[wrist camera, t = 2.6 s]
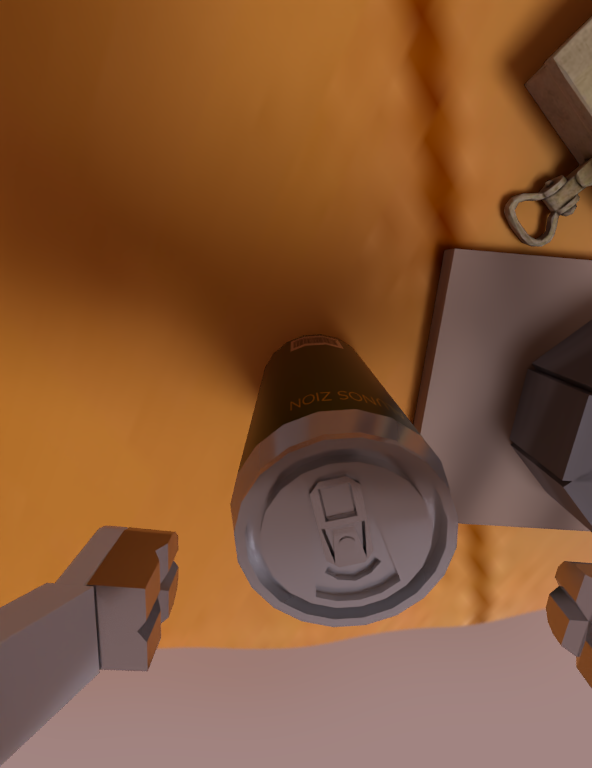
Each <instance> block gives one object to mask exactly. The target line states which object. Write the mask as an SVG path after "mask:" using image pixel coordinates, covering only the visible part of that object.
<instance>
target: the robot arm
mask: <svg viewBox="0 0 592 768" xmlns="http://www.w3.org/2000/svg"><path fill="white" fill-rule="evenodd" d="M177 551H178V535H177V533H176V532H171V531H161V530H151V529H141V528H131V527H129V528H127V527H117V526H103V527H101V528H99V529H98V530H97V532H96V533H95V534H94V535H93V536H92V538H91V539H90V540H89V541H88V543H87V544H86V545H85V546H84V548H83V549H82V550H81V551H80V553H79V554H78V555H77V556H76V558H75V559H74V560H73V561H72V563H71V564H70V565H69V566H68V568H67V569H66V570H65V571H64V573H63V574H62V575H61V576H60V577H59V579H58V580H57V581H56V582H55V584H54V583H46V584H44V585H42V586H40V587H38V588H36V589H34V590H33V591H31V592H29V593H27V594H25V595H23V596H21V597H19V598H17V599H16V600H14V601H12V602H10V603H8V604H6V605H4V606H2V607H1V608H0V766H1V765H2V764H3V763H4V762H5V761H6V760H7V759H8V758H9V757H10V756H12V755H13V754H14V753H15V752H16V751H17V750H18V749H19V748H20V747H21V746H22V745H23V744H24V743H25V742H26V741H28V740H29V739H30V738H31V737H32V736H33V735H34V734H35V733H36V732H37V731H38V730H39V729H40V728H41V727H42V726H44V725H45V724H46V723H47V721H49V720H50V719H51V718H52V717H53V716H54V715H55V714H56V713H57V712H58V711H59V710H61V708H63V707H64V706H65V705H66V704H67V703H68V702H69V701H70V700H71V699H72V698H73V697H74V696H75V695H76V694H77V693H78V692H79V691H81V690H82V689H83V688H84V687H85V686H86V685H87V684H88V683H89V682H90V681H91V680H92V679H93V678H95V676H97V675H98V674H99V673H100V669H101V670H126V671H148V669H149V667H150V664H151V662H152V659H153V656H154V654H155V651H156V649H157V646H158V644H159V641H160V639H161V623H162V622H163V621H165V620H166V619H167V618H168V617H169V615H170V612H171V610H172V607H173V604H174V600H175V595H176V591H177V585H178V566H177V565H176V563H175V562H174V561H173V560H174V558H175V556H176V553H177ZM555 578H556V580H557V582H558V585H559V587H557V588H556V589H555V590H554V591H553V592H551V593H550V594H549V597H548V601H547V605H546V612H547V618H548V623H549V625H550V628H551V630H552V633H553V634H554V636H555V637H556V639H557V640H558V642H559V643H560V644H561V646H563V647H564V648H565V649H567V650H568V651H569V652H571V653H572V654H574V655H575V656H576V661H577V662H576V664H577V665H576V666H577V669H578V670H579V671H580V673H581V674H582V675H583V677H584V678H585V680H586V681H587V683H588V684H589V685H590V687H591V688H592V563H581V562H567V561H564V562H563V563H562V564H561V565H560V566H559V567H558V569H557V572H556V575H555Z"/></svg>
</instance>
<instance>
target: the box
mask: <svg viewBox="0 0 592 768" xmlns="http://www.w3.org/2000/svg"><path fill="white" fill-rule="evenodd" d="M544 63H545V64H544V65H543V66H542V67H541V68H540V69H539V70H538V71H537V72H536V73H535V74H534V75H533V76H532V77H531V78H530V79H529V80H528V81H527V82H526V83H525V84H524V85H525V87H526V88H527V90H528V91H529V93H530V94H531V95H532V97H533V98H534V100H535V101H536V103H537V104H538V106H539V107H540V109H541V110H542V112H543V113H544V115H545V116H546V117H547V119H548V120H549V122H550V123H551V124H552V126H553V127H554V129H555V130H556V132H557V133H558V135H559V136H560V138H561V139H562V141H563V142H564V143H565V145H566V146H567V148H568V149H569V150H570V152H571V153H572V155H573V156H574V157H575V159H576V160H577V162H578V163H579V164H580V166H578V167H577V168H576V169H575V170H574V171H572V172H571V173H570V174H569V175H568V176H566V177H564V176H563V175H560V176H558V177H556V178H553V179H552V180H548V181H547V182H545V184H546V185H545V186H544V187H543V188H542V189H541V190H540V191H539V193H522V194H519V195H516V196H512V197H511V198H510V200H509V201H508V202H507V203H506V205H505V208H504V214H505V216H506V218H507V221H508V223H509V225H510V227H511V229H512V230H513V231H514V232H515V234H516V235H517V236H518V238H519V239H520V240H521V242H523V243H525V244H527V245H530V246H543V245H545V244H547V243H549V242H550V241H551V239H552V238H553V236H554V234H555V230H556V227H557V223H558V218H559V215H562V216H568V215H570V214H573V212H574V210H575V209H576V207H577V206H576V203H577V202H578V201H579V196H578V193H579V192H580V191H582V190H583V189H584V188H585V187H587V186H591V185H592V16H591V17H590V18H589V19H588V20H587V21H586V22H585V23H584V24H583V25H582V26H581V27H580V28H579V29H578V30H577V31H576V32H575V33H574V34H573V35H572V36H571V37H570V38H568V39H567V40H566V41H565V42H564V43H563V44H562V45H561V46H560V47H559V48H558V49H557V50H556V51H555V52H554V53H553V54H552V55H551V56H550V57H549V58H548V59H547V60H546V61H545V62H544ZM536 200H542V201H543V202H544V203H545V205H546V206H547V207H548V209H549V210H550V211H551V212H550V214H549V216H548V218H547V225H546V231H545V232H544V234H542V235H541V236H540V237H538V238H537V239H534V238H532V237H530V236H529V235H528V234H527V233H526V231H525V230H524V228H523V227H522V226H521V224H520V223H519V221H518V219H517V216H516V213H515V209H516V207H517V205H518V203H519V202H523V201H536Z"/></svg>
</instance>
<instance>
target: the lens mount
mask: <svg viewBox="0 0 592 768" xmlns="http://www.w3.org/2000/svg"><path fill="white" fill-rule="evenodd" d="M413 426H414V427H415V428H416V429H417V431H418V432H419V433H420V434H421V436H422V437H423V438H424V440H425V441H426V442H427V443H428V445H429V446H430V447H431V449H432V450H433V451H434V452H435V454H436V455H437V456H438V458H439V459H440V460H441V462H442V465H443V468H444V471H445V475H446V478H447V481H448V484H449V487H450V494H451V497H452V500H453V503H454V506H455V509H456V512H457V515H458V523H462V524H478V525H495V526H511V527H528V528H544V529H561V530H577V531H591V532H592V260H582V259H570V258H559V257H547V256H535V255H524V254H512V253H500V252H488V251H477V250H465V249H448V250H444V256H443V261H442V267H441V273H440V278H439V284H438V289H437V295H436V300H435V306H434V312H433V317H432V323H431V328H430V334H429V339H428V345H427V351H426V356H425V362H424V367H423V373H422V379H421V384H420V390H419V395H418V401H417V406H416V412H415V418H414V423H413Z"/></svg>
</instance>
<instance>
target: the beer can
mask: <svg viewBox="0 0 592 768" xmlns="http://www.w3.org/2000/svg"><path fill="white" fill-rule="evenodd" d="M230 505H231V513H232V520H233V528H234V536H235V544H236V551H237V559H238V563H239V565H240V566H241V568H242V570H243V572H244V574H245V576H246V578H247V579H248V581H249V583H250V585H251V587H252V588H253V589H254V590H255V591H256V592H257V593H258V594H260V595H261V596H262V597H263V598H264V599H265V600H266V601H267V602H268V603H269V604H270V605H272V606H273V607H274V608H276V609H278V610H280V611H282V612H284V613H286V614H288V615H290V616H292V617H294V618H296V619H298V620H301V621H304V622H309V623H315V624H320V625H325V626H331V627H341V626H357V625H367V624H370V623H373V622H377V621H380V620H383V619H386V618H389V617H392V616H395V615H398V614H399V613H401V612H402V611H404V610H406V609H407V608H409V607H410V606H412V605H414V604H415V603H417V602H418V601H420V600H421V599H423V598H424V597H425V596H426V595H427V594H428V593H429V592H430V590H431V589H432V588H433V587H434V586H435V585H436V584H437V583H438V582H439V580H440V579H441V578H442V577H443V576H444V575H445V572H446V570H447V568H448V566H449V563H450V561H451V559H452V557H453V554H454V552H455V550H456V547H457V532H458V515H457V512H456V509H455V506H454V503H453V500H452V497H451V494H450V487H449V484H448V481H447V478H446V475H445V471H444V468H443V465H442V462H441V460H440V459H439V458H438V456H437V455H436V454H435V452H434V451H433V450H432V449H431V447H430V446H429V445H428V443H427V442H426V441H425V440H424V438H423V437H422V436H421V434H420V433H419V432H418V431H417V429H416V428H415V427H414V426H413V424H412V423H411V422H410V420H409V419H408V418H407V417H406V415H405V414H404V413H403V411H402V410H401V409H400V408H399V406H398V405H397V404H396V402H395V401H394V400H393V399H392V397H391V396H390V395H389V394H388V392H387V391H386V390H385V388H384V387H383V386H382V385H381V383H380V382H379V381H378V379H377V378H376V377H375V376H374V374H373V373H372V372H371V371H370V369H369V368H368V367H367V365H366V364H365V363H364V362H363V360H362V359H361V358H360V357H359V355H358V354H357V353H356V352H355V350H354V349H353V348H352V347H350V346H349V345H347V344H346V343H344V342H343V341H341V340H339V339H338V338H334V337H330V336H326V335H322V334H320V335H306V336H301V337H299V338H296V339H294V340H291V341H289V342H287V343H286V344H285V345H283V346H282V347H281V348H280V349H279V350H277V351H276V352H275V353H274V354H273V356H272V357H271V359H270V361H269V362H268V364H267V365H266V367H265V370H264V374H263V378H262V382H261V386H260V390H259V393H258V397H257V401H256V405H255V409H254V413H253V416H252V420H251V424H250V428H249V432H248V436H247V439H246V443H245V447H244V451H243V455H242V459H241V462H240V466H239V470H238V474H237V478H236V482H235V487H234V491H233V495H232V499H231V504H230Z"/></svg>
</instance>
